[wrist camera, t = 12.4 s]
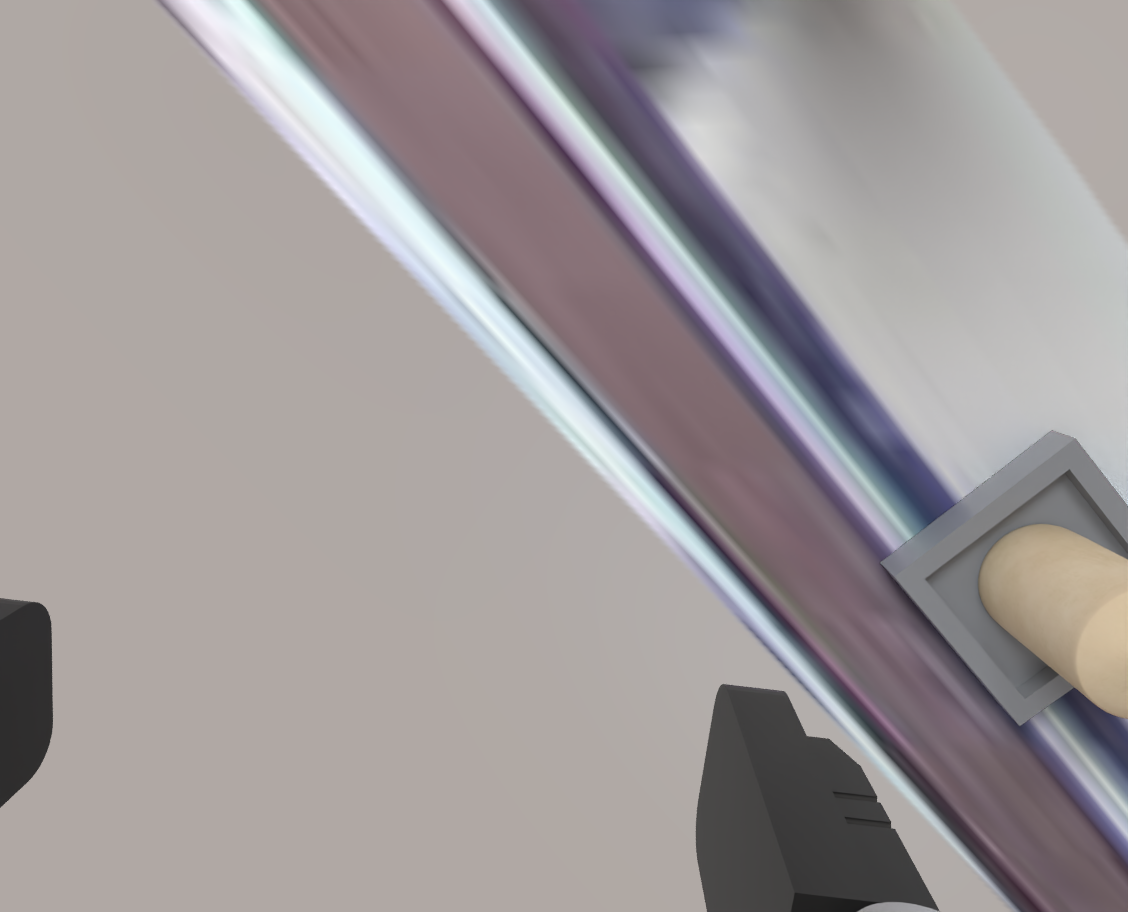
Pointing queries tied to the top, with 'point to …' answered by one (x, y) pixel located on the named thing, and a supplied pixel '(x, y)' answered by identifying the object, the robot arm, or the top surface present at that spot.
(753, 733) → the robot arm
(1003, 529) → the holder
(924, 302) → the top surface
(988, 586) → the candle
